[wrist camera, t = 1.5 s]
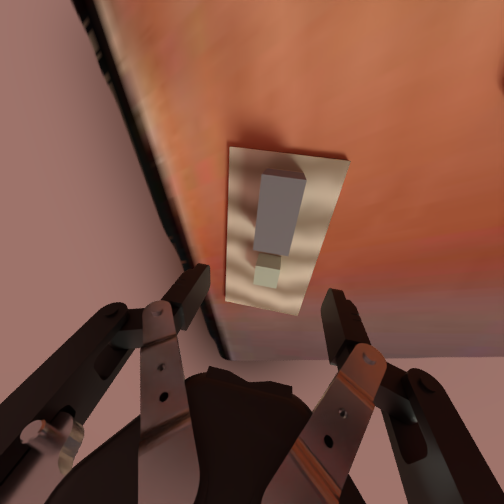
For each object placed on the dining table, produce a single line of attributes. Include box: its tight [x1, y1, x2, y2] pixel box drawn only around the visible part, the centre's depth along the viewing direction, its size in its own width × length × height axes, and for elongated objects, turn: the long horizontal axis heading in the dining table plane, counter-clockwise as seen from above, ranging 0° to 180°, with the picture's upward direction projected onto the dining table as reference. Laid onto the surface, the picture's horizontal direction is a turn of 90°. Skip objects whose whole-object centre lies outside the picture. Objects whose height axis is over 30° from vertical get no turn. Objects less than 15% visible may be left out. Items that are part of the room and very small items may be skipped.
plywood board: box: [225, 146, 351, 316], centre depth 33 cm, size 30×16×1 cm, turn 175°
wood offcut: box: [253, 253, 281, 289], centre depth 32 cm, size 4×4×4 cm
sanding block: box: [253, 168, 307, 256], centre depth 25 cm, size 10×5×6 cm, turn 175°
